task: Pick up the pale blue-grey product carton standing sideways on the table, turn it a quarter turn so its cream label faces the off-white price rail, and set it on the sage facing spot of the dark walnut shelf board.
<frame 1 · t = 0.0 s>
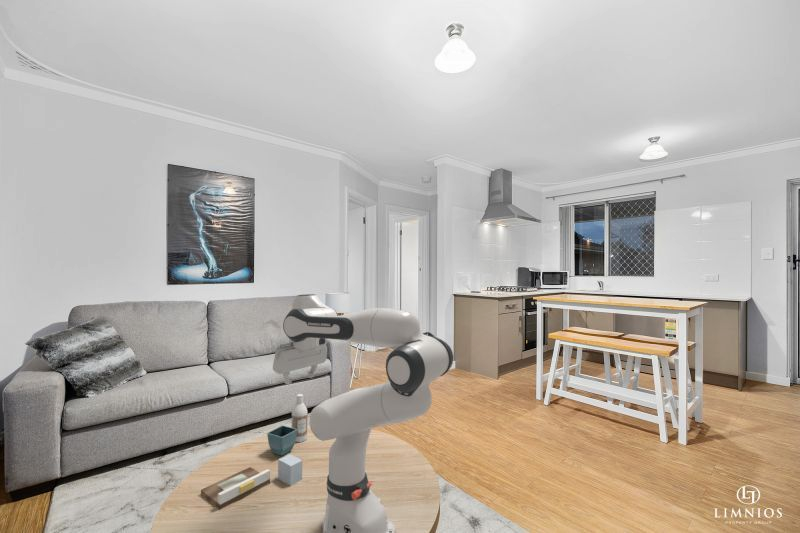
hand: (299, 380, 123), 39 cm above the table, tool pointing down, fingers open, 8 cm apart
shelf board: (236, 488, 126), on the table
product carton: (290, 479, 132), on the table
price rail: (245, 490, 122), resting on shelf board
bath foam: (299, 439, 163), on the table
flower pot: (282, 452, 151), on the table
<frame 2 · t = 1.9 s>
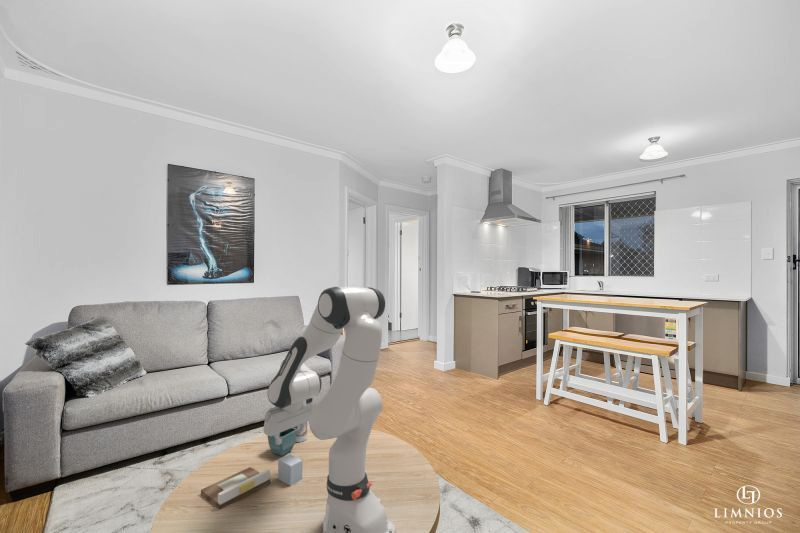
hand: (289, 438, 132), 14 cm above the table, tool pointing down, fingers open, 8 cm apart
nothing on the table moved.
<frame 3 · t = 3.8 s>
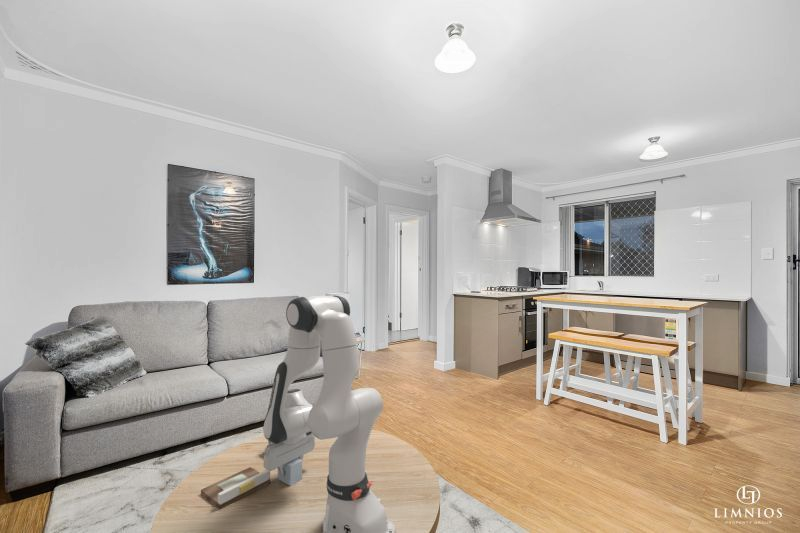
hand: (290, 471, 132), 3 cm above the table, tool pointing down, fingers closed on product carton, 5 cm apart
product carton: (289, 479, 132), on the table, touching gripper
everything else where it was.
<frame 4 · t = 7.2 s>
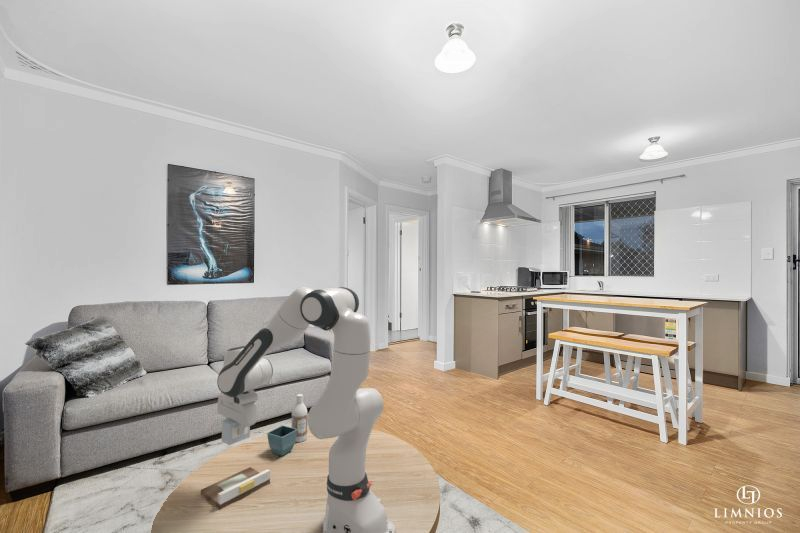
hand: (235, 431, 127), 19 cm above the table, tool pointing down, fingers closed on product carton, 5 cm apart
product carton: (235, 439, 127), point 17 cm above the table, touching gripper
everything else where it was.
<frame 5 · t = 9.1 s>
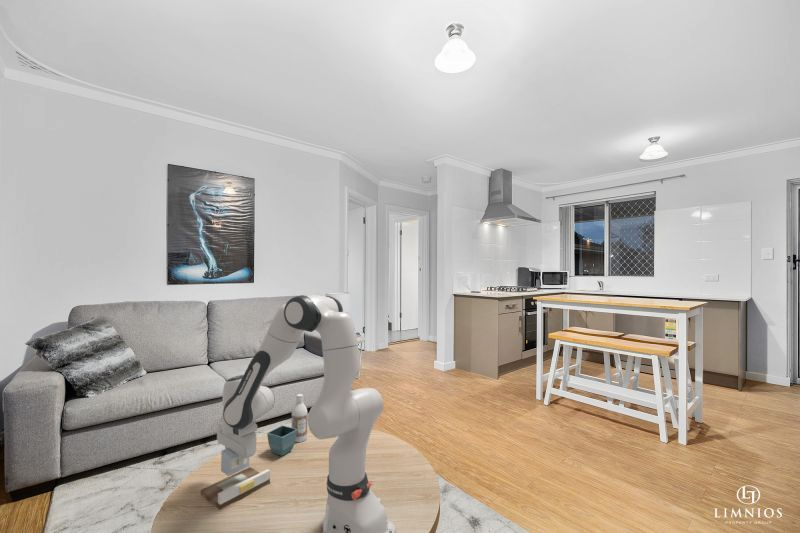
hand: (235, 461, 127), 9 cm above the table, tool pointing down, fingers closed on product carton, 5 cm apart
product carton: (235, 468, 127), point 6 cm above the table, touching gripper
everything else where it was.
when the fingers open (6 cm above the table, at t = 10.7 s): product carton drops 1 cm, resting on shelf board.
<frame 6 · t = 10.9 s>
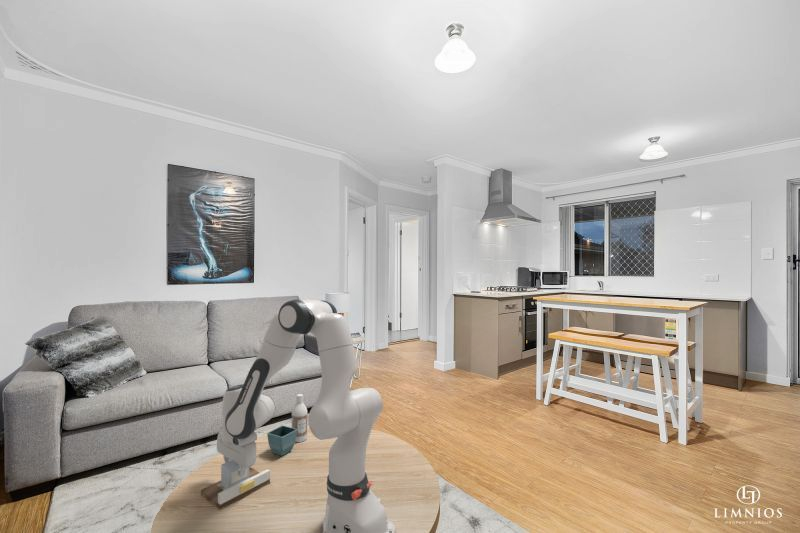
hand: (235, 471, 126), 6 cm above the table, tool pointing down, fingers open, 7 cm apart
product carton: (235, 482, 126), point 2 cm above the table, touching shelf board
everything else where it was.
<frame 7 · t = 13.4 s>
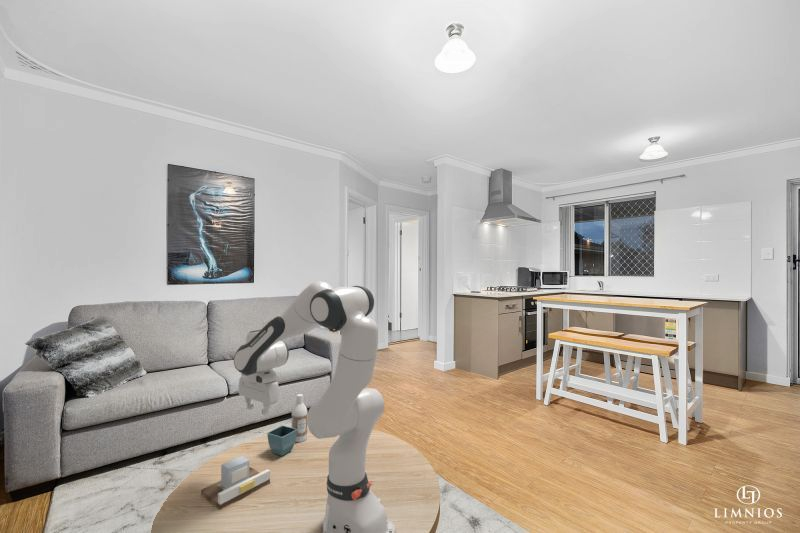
hand: (257, 411, 132), 25 cm above the table, tool pointing down, fingers open, 8 cm apart
nothing on the table moved.
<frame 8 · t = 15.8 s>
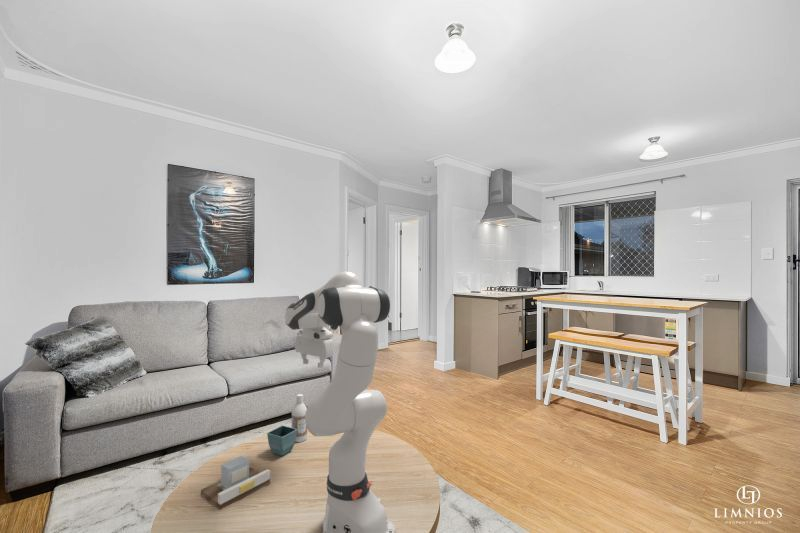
hand: (313, 365, 149), 37 cm above the table, tool pointing down, fingers open, 8 cm apart
nothing on the table moved.
at the end: product carton 0.1 cm from the target spot on the shelf board, point 1.7 cm above the shelf board's base; product carton tilted 0°; the gripper is holding nothing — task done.
